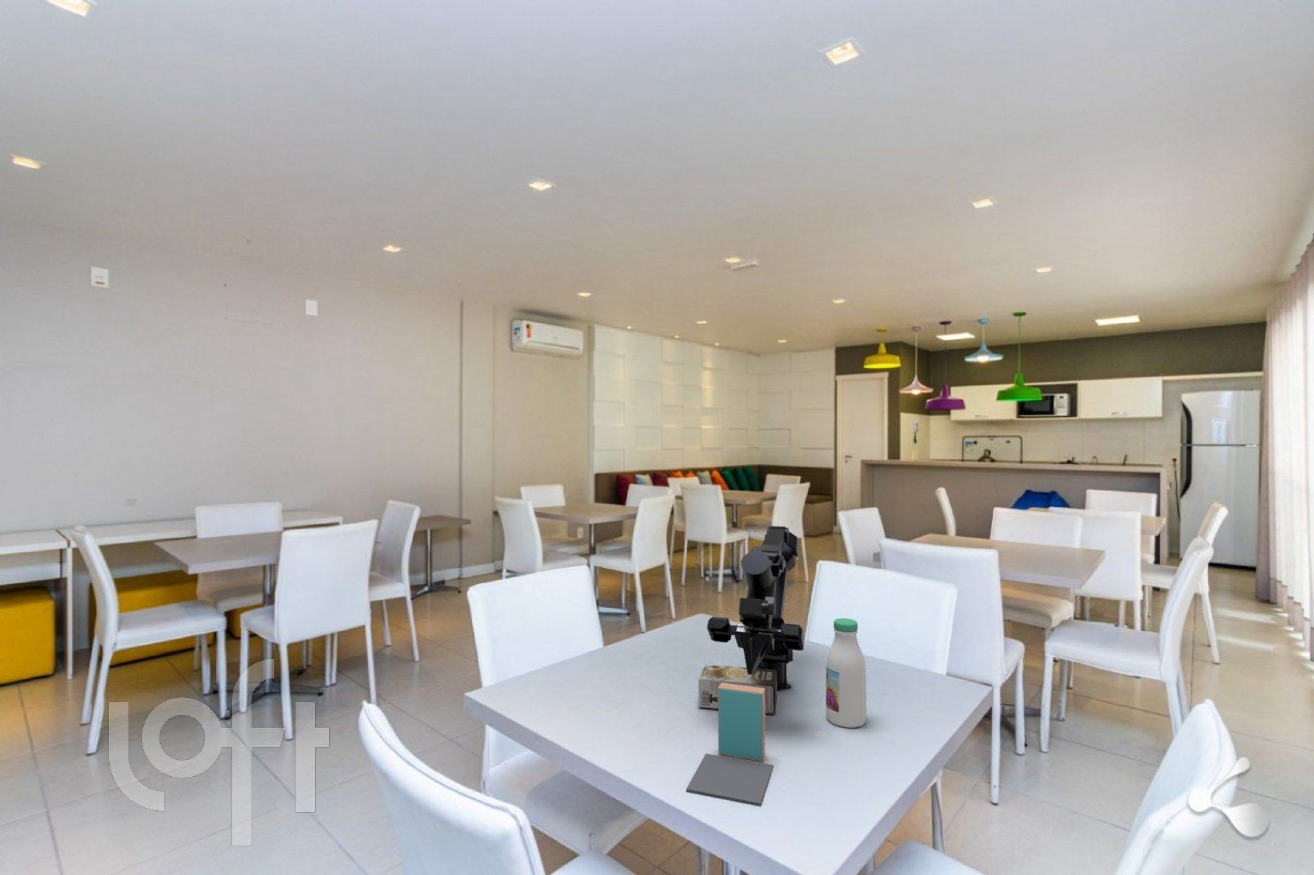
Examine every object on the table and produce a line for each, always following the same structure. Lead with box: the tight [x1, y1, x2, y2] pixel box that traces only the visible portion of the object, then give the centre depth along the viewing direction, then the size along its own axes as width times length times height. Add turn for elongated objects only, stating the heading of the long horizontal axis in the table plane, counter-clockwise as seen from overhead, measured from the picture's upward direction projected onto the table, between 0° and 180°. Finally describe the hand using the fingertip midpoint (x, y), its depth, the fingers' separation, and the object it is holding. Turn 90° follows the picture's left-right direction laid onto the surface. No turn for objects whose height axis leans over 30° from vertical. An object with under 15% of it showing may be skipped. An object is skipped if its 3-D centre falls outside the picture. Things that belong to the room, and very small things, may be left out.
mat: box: [685, 753, 774, 807], centre depth 104 cm, size 12×12×1 cm
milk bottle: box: [825, 617, 867, 729], centre depth 125 cm, size 8×8×20 cm
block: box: [717, 683, 766, 763], centre depth 111 cm, size 3×8×12 cm, turn 70°
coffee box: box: [698, 664, 778, 715], centre depth 133 cm, size 9×6×16 cm
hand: (749, 673), depth 119 cm, fingers closed
